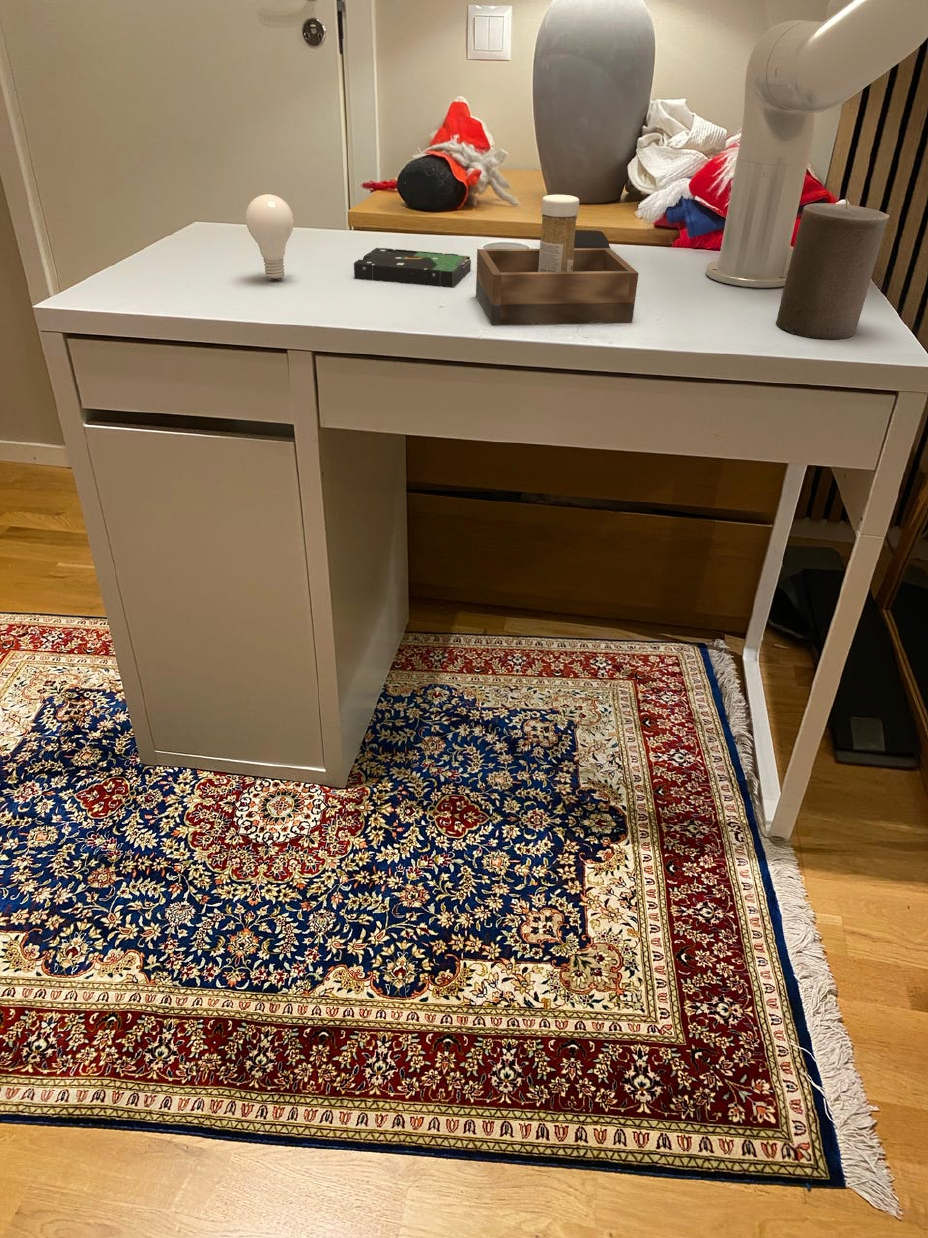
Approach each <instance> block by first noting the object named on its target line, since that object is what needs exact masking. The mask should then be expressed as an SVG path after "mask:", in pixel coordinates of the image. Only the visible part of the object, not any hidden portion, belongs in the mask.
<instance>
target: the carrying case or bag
mask: <svg viewBox="0 0 928 1238" xmlns="http://www.w3.org/2000/svg"><path fill="white" fill-rule="evenodd" d="M574 248H610V249H612V248H611V247H610V243H609V240H608V237H606V235H605V233H604V232H603V231H600V230H589V229H575V240H574Z"/></svg>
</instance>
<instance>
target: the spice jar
mask: <svg viewBox="0 0 928 1238" xmlns="http://www.w3.org/2000/svg"><path fill="white" fill-rule="evenodd" d="M540 212H541V218H542V220H541V233H540V241H539V249H540V254H539V269H538V272H573V259H574V240H575V230H576V227H577V225H576V224H577V220H578V215H579V212H580V199H579V198H578V197H577V196H574V195H569V194H548V195H544V196H543V197H542V200H541V211H540Z"/></svg>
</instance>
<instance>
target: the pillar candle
mask: <svg viewBox="0 0 928 1238" xmlns="http://www.w3.org/2000/svg"><path fill="white" fill-rule="evenodd" d="M890 218H891V217H890V215H889V214H887V213H885V212H882V210H881V211H880V210H878V209H877V210H876V209H874V208H868V207H864V206H859V205H854V204H853V205H851V204H849V203H848V198H845V204H844V203H827V202H825V203H823V202H822V203H820V202H818V203H809V204H806V205H805V206H803V209H802V212H801V216H800V220H799V224H798V227H797V232H796V236H795V241H794V246H793V247H794V249H793V252H792V256H791V261H790V265H789V270H788V274H787V277H786V281H785V286H783V292H782V295H781V299H780V304H779V308H778V313H777V319H776V321H775V322H776V326H778V327H779V328H780V329H782V330H785V331H787V332H788V333H791V334H794V335H796V336H799V337H805V338H812V339H818V340H819V339H821V340H840V339H843V340H844V339H847V338H851V337H853V336H854V335H855V334H856V331H857V330H858V326H859V322H860V319H861V314H862V312H863V308H864V305H865V301H866V297H867V294H868V290H869V286H870V283H871V279H872V276H873V273H874V270H875V266H876V263H877V258H878V256H879V251H880V249H881V245H882V241H883V237H884V234H885V230H886V226H887V224H888V220H889V219H890Z"/></svg>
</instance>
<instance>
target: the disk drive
mask: <svg viewBox="0 0 928 1238" xmlns="http://www.w3.org/2000/svg"><path fill="white" fill-rule="evenodd" d="M471 264H472V260H471V256H470V255H461V254H460V255H459V254H455V253H443V252H431V251H419V250H418V251H417V250H412V249H411V250H409V249H408V250H407V249H397V248H387V247H375V248H374V249H373V250H371V251H369V252H368V253H366V254H365V255H363V258H362V259H358V260H356V261H354V262H353V274H354V275H353V277H354V279H355V280H362V281H363V280H365V281H376V282H384V283H385V282H387V283H396V284H397V283H399V284H408V285H410V284H411V285H419V286H420V285H421V286H431V287H439V288H441V287H443V288H455V287H456V286H457V285H458V284H459V283H460V282H461V281H462V280H463V279H464V278H465V277H466V276H467V275H468V274H469V273H471V268H472V265H471Z"/></svg>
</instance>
